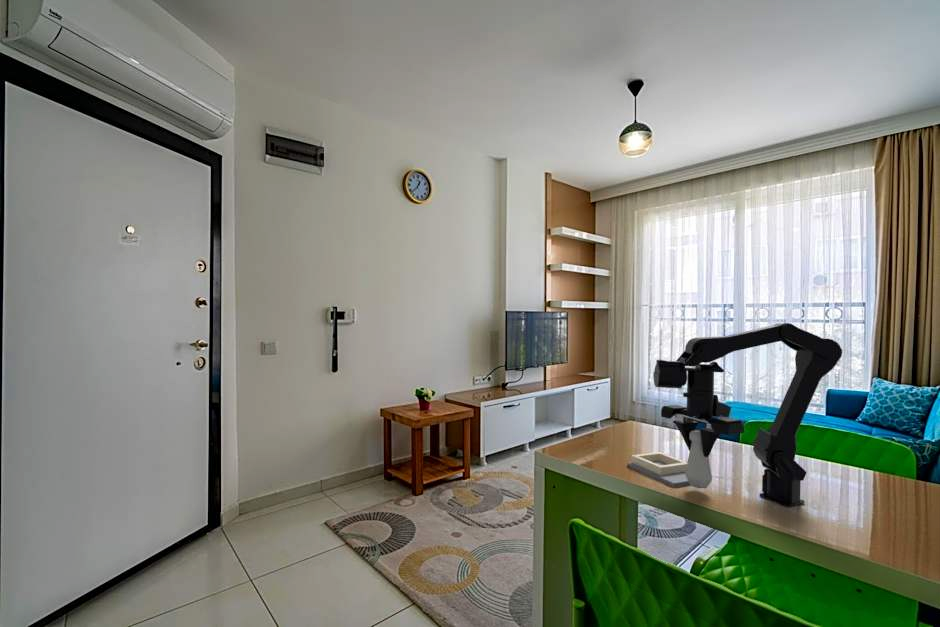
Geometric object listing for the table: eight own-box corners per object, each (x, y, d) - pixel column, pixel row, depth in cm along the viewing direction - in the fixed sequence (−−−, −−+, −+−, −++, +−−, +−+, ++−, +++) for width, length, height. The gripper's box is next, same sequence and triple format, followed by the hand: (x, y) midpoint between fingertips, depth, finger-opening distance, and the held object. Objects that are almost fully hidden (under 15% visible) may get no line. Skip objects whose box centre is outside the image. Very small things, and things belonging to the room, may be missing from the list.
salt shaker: (716, 490, 101) (718, 435, 101) (692, 489, 101) (693, 434, 101) (703, 481, 107) (705, 428, 107) (680, 480, 107) (681, 428, 107)
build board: (710, 481, 111) (711, 469, 111) (673, 487, 106) (674, 475, 106) (661, 461, 126) (661, 451, 126) (627, 466, 121) (627, 455, 121)
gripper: (761, 394, 98) (759, 463, 98) (691, 382, 116) (689, 440, 116) (727, 397, 94) (726, 468, 94) (660, 384, 111) (658, 444, 111)
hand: (698, 454), depth 104 cm, fingers closed on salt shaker, 4 cm apart
